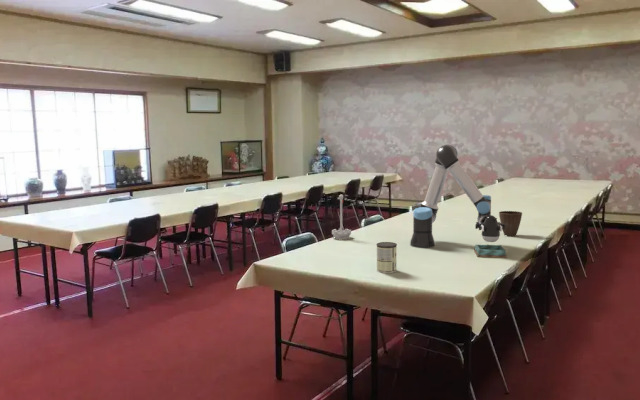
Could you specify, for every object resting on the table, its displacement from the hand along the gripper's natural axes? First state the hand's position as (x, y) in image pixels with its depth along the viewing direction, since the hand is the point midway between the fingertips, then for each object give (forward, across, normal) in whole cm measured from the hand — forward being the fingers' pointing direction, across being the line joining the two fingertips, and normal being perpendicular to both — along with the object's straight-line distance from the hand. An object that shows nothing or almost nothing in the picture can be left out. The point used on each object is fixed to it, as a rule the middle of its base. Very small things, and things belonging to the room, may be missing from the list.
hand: (492, 229), depth 304 cm
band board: (-5, 0, -16) cm, 16 cm away
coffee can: (+40, +58, -16) cm, 73 cm away
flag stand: (-44, +92, -15) cm, 103 cm away
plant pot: (-66, -22, -16) cm, 71 cm away
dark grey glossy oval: (-4, 0, -8) cm, 9 cm away
